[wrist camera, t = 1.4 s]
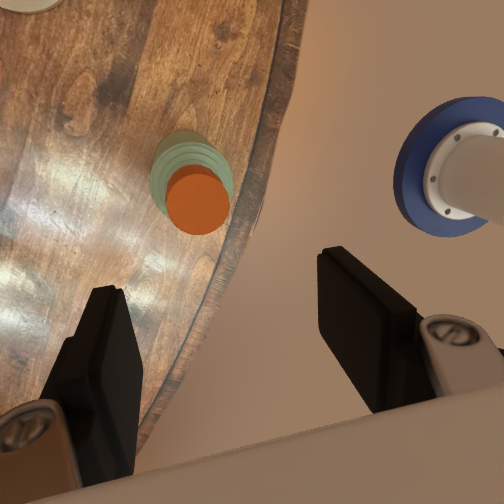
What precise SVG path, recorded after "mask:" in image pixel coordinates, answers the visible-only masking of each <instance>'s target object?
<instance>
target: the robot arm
mask: <svg viewBox="0 0 504 504" xmlns="http://www.w3.org/2000/svg"><path fill="white" fill-rule="evenodd" d="M423 191H424V195H425V198H426V201H427V203H428V205H429V206H430V207H431V208H432V210H433V211H435V212H436V213H437V214H439V215H441V216H443V217H446V218H449V219H454V220H461V219H467V218H470V217H473V216H477V217H480V218H483V219H485V220H488V221H491V222H493V223H496V224H499V225H501V226H504V130H503V129H502V128H500V127H499V126H497V125H495V124H492V123H488V122H470V123H467V124H464V125H461V126H459V127H457V128H455V129H454V130H452V131H451V132H449V133H448V134H447V135H446V136H444V138H443V139H442V140H441V141H440V142H439V143H438V144H437V146H436V147H435V149H434V150H433V152H432V153H431V155H430V157H429V159H428V161H427V164H426V168H425V171H424V177H423ZM317 276H318V277H317V282H318V325H319V330H320V334H321V336H322V337H323V339H324V340H325V342H326V343H327V345H328V347H329V348H330V350H331V351H332V353H333V354H334V355H335V357H336V359H337V360H338V362H339V363H340V365H341V366H342V368H343V369H344V371H345V373H346V374H347V376H348V377H349V379H350V380H351V382H352V383H353V385H354V386H355V388H356V389H357V391H358V392H359V394H360V395H361V397H362V399H363V400H364V402H365V403H366V405H367V406H368V408H369V409H370V411H371V412H372V413H373V414H371V415H367V416H363V417H359V418H355V419H351V420H347V421H343V422H339V423H335V424H331V425H327V426H323V427H319V428H315V429H311V430H307V431H303V432H299V433H295V434H291V435H288V436H283V437H279V438H275V439H271V440H268V441H263V442H259V443H256V444H252V445H248V446H244V447H240V448H236V449H232V450H228V451H224V452H221V453H216V454H212V455H209V456H205V457H201V458H197V459H193V460H189V461H185V462H182V463H178V464H174V465H170V466H166V467H162V468H158V469H154V470H151V471H147V472H143V473H139V474H135V475H133V473H134V465H135V454H136V444H137V433H138V422H139V412H140V401H141V390H142V380H143V365H142V360H141V356H140V352H139V348H138V345H137V341H136V337H135V333H134V329H133V326H132V322H131V318H130V314H129V311H128V307H127V303H126V299H125V295H124V292H123V290H122V288H120V289H116V288H115V286H114V285H109V286H104V287H98V288H93V290H92V292H91V294H90V297H89V299H88V302H87V304H86V307H85V309H84V312H83V314H82V317H81V319H80V322H79V324H78V327H77V329H76V331H75V334H74V336H72V337H68V338H66V339H65V341H64V343H63V345H62V347H61V350H60V352H59V354H58V356H57V359H56V361H55V363H54V366H53V368H52V370H51V372H50V375H49V377H48V379H47V382H46V384H45V386H44V388H43V391H42V393H41V395H40V398H39V399H38V400H32V401H29V402H26V403H23V404H20V405H19V406H17V407H15V408H13V409H11V410H9V411H7V412H6V413H5V414H3V415H2V416H0V504H504V349H500V348H497V347H496V346H495V344H494V343H493V341H492V340H491V338H490V337H489V336H488V334H487V333H486V331H484V329H483V328H482V327H481V326H479V325H478V324H476V323H474V322H473V321H470V320H468V319H465V318H463V317H458V316H454V315H446V314H440V315H433V316H429V317H426V318H425V319H424V318H423V317H422V316H420V314H418V313H417V308H415V307H414V306H413V305H412V304H411V303H409V302H408V301H407V300H406V299H405V298H403V297H402V296H401V295H400V294H399V293H397V292H396V291H395V290H394V289H393V288H391V287H390V286H389V285H388V284H386V283H385V282H384V281H383V280H382V279H381V278H379V277H378V276H377V275H376V274H375V273H373V272H372V271H371V270H370V269H368V268H367V267H366V266H365V265H363V263H361V262H360V261H359V260H358V259H357V258H355V257H354V256H353V255H352V254H351V253H349V252H348V251H347V250H346V249H344V248H343V247H342V246H337V247H331V248H325V249H323V250H322V254H318V256H317Z"/></svg>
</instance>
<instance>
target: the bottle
mask: <svg viewBox="0 0 504 504" xmlns="http://www.w3.org/2000/svg"><path fill="white" fill-rule="evenodd" d="M190 164H191V165H193V164H196V165H202V166H205V167H207V168H209V169H211V170H212V171H213V172H214V173H215V174H216V175H218V177H219V178H220V180H221V181H222V183H223V186H224V187H225V189H226V191H227V192H228V196H229V200H231V198H232V195H233V190H234V178H233V173H232V170H231V168H230V166H229V164H228V162H227V161H226V159H225V158H224V157H223V155H222V154H221V153H220V152H219V151H218V150H217V149H215V148H214V147H213V146H212V145H211V144H210V143H209V142H208V141H207V140H206V139H205V138H204V137H203V136H201V135H200V134H198V133H195V132H192V131H187V130H182V131H176V132H173V133H171V134H169V135H168V136H166V137H165V138H164V139H163V140H162V141H161V142H160V144H159V146H158V148H157V150H156V154H155V158H154V162H153V166H152V170H151V174H150V191H151V195H152V198H153V200H154V202H155V204H156V205H157V207H158V208H159V209H160V211H161V212H162V213H163V214H164V215H166V216H167V217H168V218H169V215H168V213H167V207H166V203H165V199H166V191H167V182H169V179H170V178H171V176H172V174H173V173H174V172H176V171H177V170H178V169H180V167H183V166H186V165H190Z"/></svg>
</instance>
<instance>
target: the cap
mask: <svg viewBox="0 0 504 504" xmlns="http://www.w3.org/2000/svg"><path fill="white" fill-rule="evenodd" d="M165 203H166V207H167V213H168V215H169V218H170V219H171V221H172V222H173V224H174V225H175V226H176V227H177V228H179V229H180V230H182V231H184V232H186V233H189V234H193V235H203V234H208V233H210V232H212V231H214V230H216V229H217V228H219V227H220V226H221V225H222V224H223V223H224V221H225V220H226V218H227V216H228V213H229V208H230V200H229V196H228V192H227V191H226V189H225V187H224V186H223V183H222V181H221V180H220V178H219V177H218V175H216V174H215V173H214V172H213V171H212V170H211V169H209V168H207V167H205V166H202V165H196V164H193V165H191V164H190V165H186V166H183V167H180V169H178V170H177V171H176V172H174V173H173V174H172V176H171V178H170V179H169V182H167V191H166V199H165Z"/></svg>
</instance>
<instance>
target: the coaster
mask: <svg viewBox="0 0 504 504" xmlns="http://www.w3.org/2000/svg"><path fill="white" fill-rule="evenodd" d="M62 1H63V0H0V7H1V8H3V9H5V10H8V11H12V12H15V13H22V14H35V13H41V12H45V11H48V10H50V9H52V8H54V7H56V6H57V5H58V4H60V3H61V2H62Z"/></svg>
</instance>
